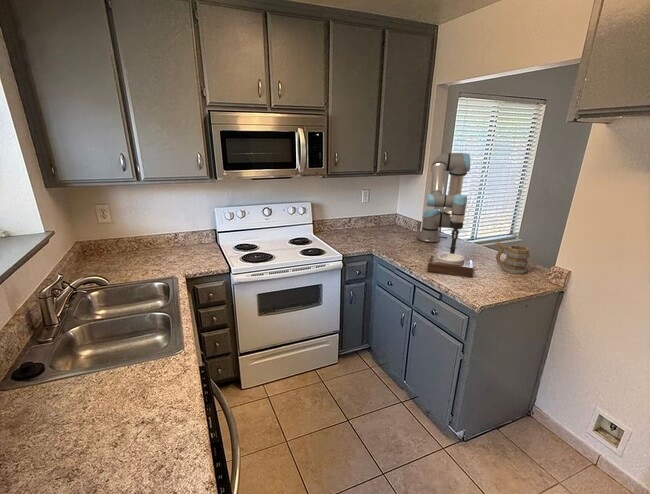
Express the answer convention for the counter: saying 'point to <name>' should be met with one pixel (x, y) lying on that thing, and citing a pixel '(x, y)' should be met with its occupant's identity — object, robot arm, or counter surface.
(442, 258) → the paper bowls
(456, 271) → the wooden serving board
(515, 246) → the tankard
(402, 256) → the counter surface
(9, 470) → the counter surface
